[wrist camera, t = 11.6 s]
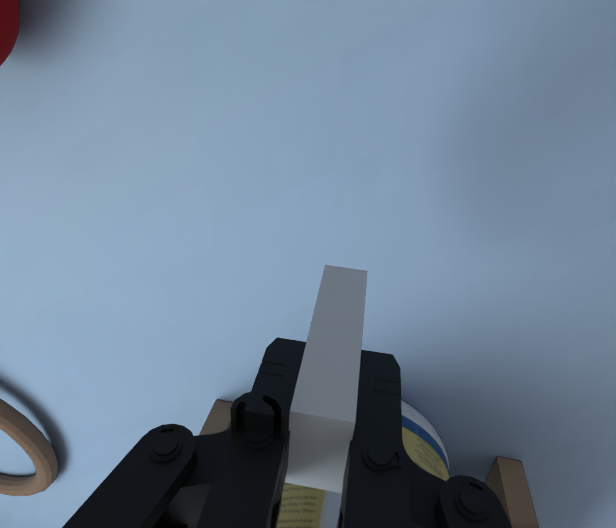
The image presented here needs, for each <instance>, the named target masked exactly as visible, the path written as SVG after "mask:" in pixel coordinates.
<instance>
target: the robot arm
mask: <svg viewBox="0 0 616 528" xmlns="http://www.w3.org/2000/svg"><path fill="white" fill-rule="evenodd" d="M366 283H367V271H365V270H358V269H350V268H343V267H336V266H329V265H325V268H324V272H323V276H322V280H321V285H320V289H319V293H318V297H317V301H316V305H315V309H314V313H313V318H312V322H311V326H310V330H309V334H308V338H307V342H302V341H296V340H289V339H283V338H276V339H275V340H274V341H273V342H272V343H271V344H270V345H269V346H268V347H267V348H266V351H265V354H264V357H263V359H262V363H261V365H260V368H259V371H258V374H257V376H256V379H255V382H254V385H253V388H252V391H251V392H249V393H245V394H243V395H242V396H240V397H239V398H237V399H236V400H235V401H234V403H233V404H232V406H231V407H230V417H231V427H230V428H229V429H227V430H224V431H222V432H218V433H214V434H207V435H198V436H193V434H192V432H191V431H190V430H188V429H187V428H186V427H184V426H181V425H177V424H167V425H161V426H159V427H156V428H154V429H152V430H150V431H149V432H148V433H147V434H146V435H144V436H143V437H142V438H141V439H140V440H139V441H138V443H137V444H136V445H135V446H134V447H133V448H132V449H131V450H130V452H129V453H128V454H127V455H126V456H125V457H124V458H123V460H122V461H121V462H120V463H119V464H118V465H117V466H116V467H115V469H114V470H113V471H112V472H111V473H110V474H109V475H108V476H107V478H106V479H105V480H104V481H103V482H102V483H101V484H100V485H99V487H98V488H97V489H96V490H95V491H94V492H93V493H92V495H91V496H90V497H89V498H88V499H87V500H86V501H85V502H84V504H83V505H82V506H81V507H80V508H79V509H78V510H77V511H76V513H75V514H74V515H73V516H72V517H71V518H70V519H69V520H68V522H67V523H66V524H65V525H64V526H63V527H62V528H195V527H196V528H277V523H278V519H279V514H280V509H281V503H282V492H283V487H284V482H286V483H291V484H296V485H301V486H306V487H312V488H317V489H322V490H327V491H333V492H338V493H342V497H341V506H340V511H339V517H338V522H337V527H336V528H512V525H511V523H510V521H509V519H508V517H507V515H506V512H505V510H504V508H503V506H502V504H501V502H500V500H499V499H498V497H497V496H496V494H495V493H494V491H492V490H491V489H490V488H489V487H488V486H487V485H486V484H484V483H483V482H481V481H479V480H477V479H475V478H473V477H469V476H462V475H459V476H455V477H451V478H449V479H448V480H447V481H445V480H443V479H441V478H439V477H437V476H435V475H433V474H431V473H429V472H427V471H425V470H424V469H422V468H420V467H419V466H418V465H417V464H416V463H415V462H413V461H412V459H411V458H410V457H409V455H408V454H407V452H406V450H405V448H404V445H403V439H402V409H401V385H400V383H401V377H400V367H399V365H398V363H397V361H396V360H395V358H394V356H393V355H391V354H385V353H378V352H372V351H366V350H361V345H362V333H363V320H364V308H365V295H366ZM196 525H197V526H196Z"/></svg>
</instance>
